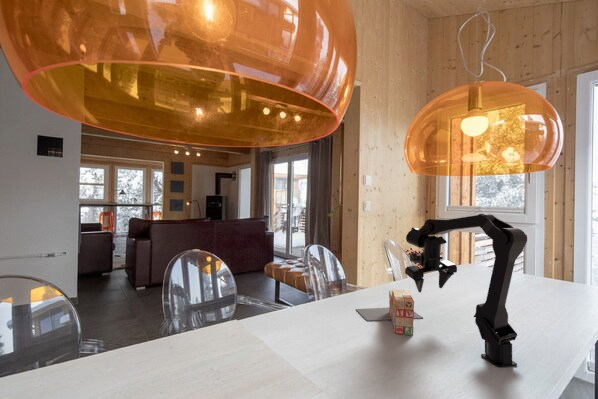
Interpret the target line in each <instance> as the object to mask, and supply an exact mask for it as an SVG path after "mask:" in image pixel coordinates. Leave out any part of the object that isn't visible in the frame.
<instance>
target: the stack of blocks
mask: <svg viewBox="0 0 598 399" xmlns="http://www.w3.org/2000/svg"><path fill="white" fill-rule="evenodd" d="M388 291H389V292H388V298H389V301H388V302H389V306H388V308H389V312H390V316H391V320H390V321H391V323H392V326H393V331H394V334H395V335H402V336H403V335H404V336H411V337H412V336H414V319H413V318H414V312H415V301H414V298H413V297H412V295H411V293H410V292H409V290H405V289H393V288H392V289H389V290H388Z"/></svg>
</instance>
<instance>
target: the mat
mask: <svg viewBox="0 0 598 399" xmlns="http://www.w3.org/2000/svg"><path fill="white" fill-rule="evenodd" d="M355 311H356V312H357V313H358V314H359V315H360V316H361V317H362V318H363V319H364V320H365V321H366V322H379V321H381V322H382V321H392V320H391V316H390V312H389V307H373V308H370V307H369V308H356V309H355ZM419 319H421V320H422V319H424V317H423V316H421V314H419V313H417V312H415V311H414V318H413V320H419Z"/></svg>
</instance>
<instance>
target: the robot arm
mask: <svg viewBox="0 0 598 399" xmlns="http://www.w3.org/2000/svg"><path fill="white" fill-rule="evenodd" d="M473 228H480V229H482V231H483V232H484V234H485V235H486V236H487V237H488V238H490V239H491V240H492V242H491V243H492V246H491V247H492V250H493V253H494V262H493V267H492V271H491V277H490V282H489V286H488V290H487V294H486V300H485V301H484V303H483V302H482V303H479V304H476V307H475V313H474V315H473V318H474V322H475V325H476V326H477V328H478V331H479V332H478V333H479V334H480V337H481V339H482V340H484V353H481V354H480V357H482V358H483V359H485V360H486V361H488V362H490V363H491V364H493V365H494V366H496V367H497V368H502V367H503V368H504V367H513V366H518V363H517V362H515V361H514V360H513V343H511V341H515V340H516V338H517V337H518V333H517V332H516V331H515V329H514V328H513V327H512V326H511V324H510V323H509V314H508V311H507V307H506V304H507V297H508V294H509V290H510V285H511V280H512V276H513V272H514V268H515V262H516V260H517V259H518V258H519V257H520V255H521V254H522V252H523V251H524V250H525V247H526V244H527V242H528V235H527V234H526V233H525V231H523V230H522V229H520V228H517V227H514V226H512V225H511V224H509V223H507V222H505V221H503V220H501V219H499V218H498V217H496V216H494V215H493V214H491V213H479V214H477V215H471V216H463V217H457V218H456V217H455V218H449V219H448V218H447V219H443V218H428V219H426V220H425V222H424V224H423V225H422V226H421V227H420V228H419V227H416V226H415V227H411V228H410V230H409V231H408V233H407V235H406V236H405V240H406V243H408V244H409V245H411V246H414V247H417V248H419V249H422V248H423V252H421V253H416V252H413V253H412V252H411V253H410V254H409V261H410V262H411V263H413V262H414V264H418V265H419V266H420V268H419V267H418V266H416V265H410V266H406V267H405V269H404V273H405V275H406V276H408V277H409V278H411V279H412V280H413V281H414V283H415V286H416V289H417V292H418V293H422V290H423V285H424V281H425V279H424V276H425V274H428V273H434V272H437V271H438V288H439V289H442V288H444V286H445V285H446V283H447V282H448V281H449V279H450V278H451V277H452V276H453V275H454V274H455V273H457V271H458V266H457V264H455V263H454V262H452V261H449V260H448V259H445V260H444V259H443V258H444V257H443V255H441V249H442V248H441V247H442V245H445V244H447V240H446V238H444V237H443V236H442V235H445V234H449V233H450V232H453V231H456V230H465V229H473ZM435 235H436V236H435ZM437 235H440V236H437Z"/></svg>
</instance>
